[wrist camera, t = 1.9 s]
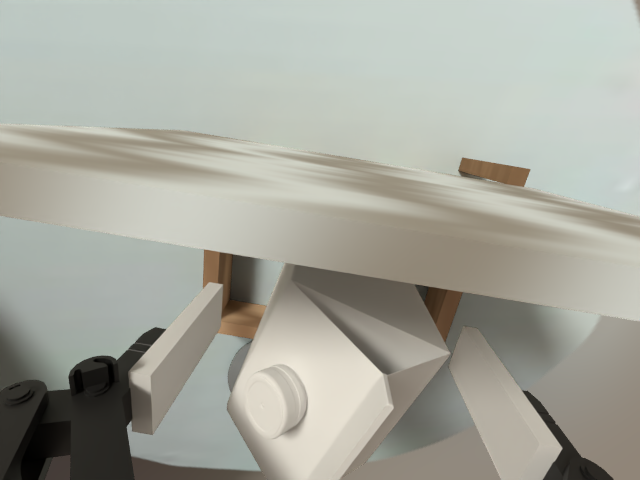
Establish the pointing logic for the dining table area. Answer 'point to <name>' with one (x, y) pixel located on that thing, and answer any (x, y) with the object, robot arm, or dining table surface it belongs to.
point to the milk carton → (332, 371)
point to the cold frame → (326, 217)
